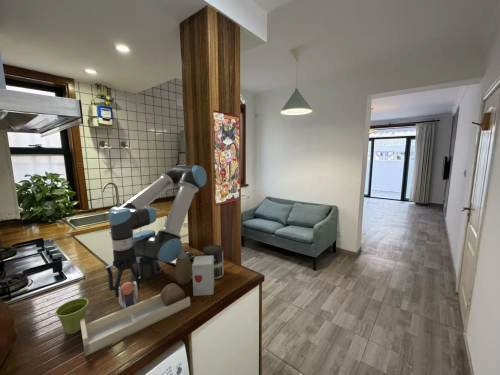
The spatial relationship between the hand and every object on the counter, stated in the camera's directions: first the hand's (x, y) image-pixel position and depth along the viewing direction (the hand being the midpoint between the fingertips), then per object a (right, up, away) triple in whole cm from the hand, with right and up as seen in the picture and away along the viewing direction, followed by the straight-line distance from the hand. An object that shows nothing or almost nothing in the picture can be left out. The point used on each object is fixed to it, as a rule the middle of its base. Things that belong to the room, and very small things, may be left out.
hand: (128, 299), depth 93 cm
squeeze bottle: (+18, 0, +17) cm, 25 cm away
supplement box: (+30, -1, +10) cm, 31 cm away
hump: (+19, -2, 0) cm, 19 cm away
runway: (+9, -3, -8) cm, 13 cm away
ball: (0, +5, -1) cm, 5 cm away
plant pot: (-13, -4, -12) cm, 18 cm away
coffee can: (+32, +1, +24) cm, 40 cm away
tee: (0, -2, 0) cm, 2 cm away
